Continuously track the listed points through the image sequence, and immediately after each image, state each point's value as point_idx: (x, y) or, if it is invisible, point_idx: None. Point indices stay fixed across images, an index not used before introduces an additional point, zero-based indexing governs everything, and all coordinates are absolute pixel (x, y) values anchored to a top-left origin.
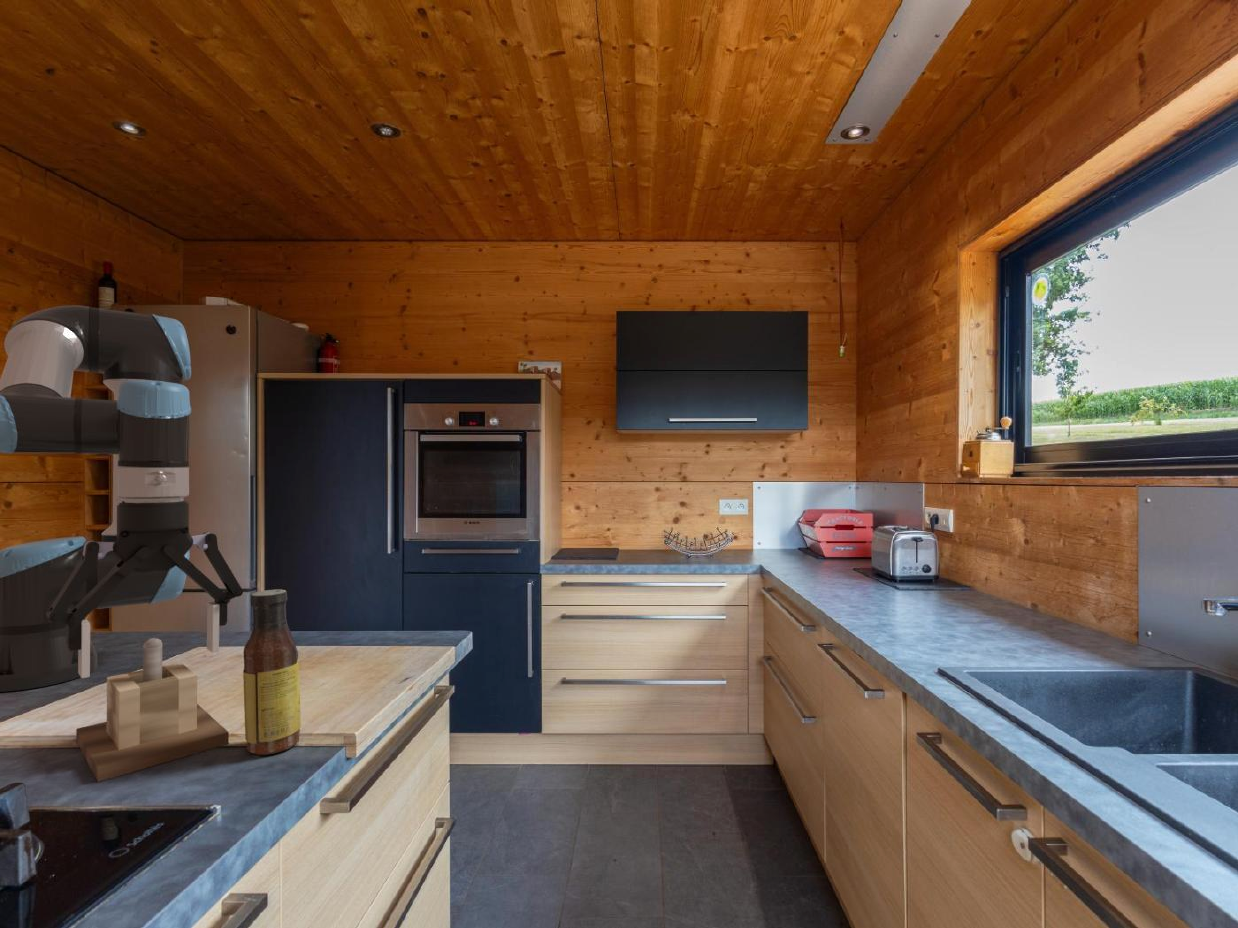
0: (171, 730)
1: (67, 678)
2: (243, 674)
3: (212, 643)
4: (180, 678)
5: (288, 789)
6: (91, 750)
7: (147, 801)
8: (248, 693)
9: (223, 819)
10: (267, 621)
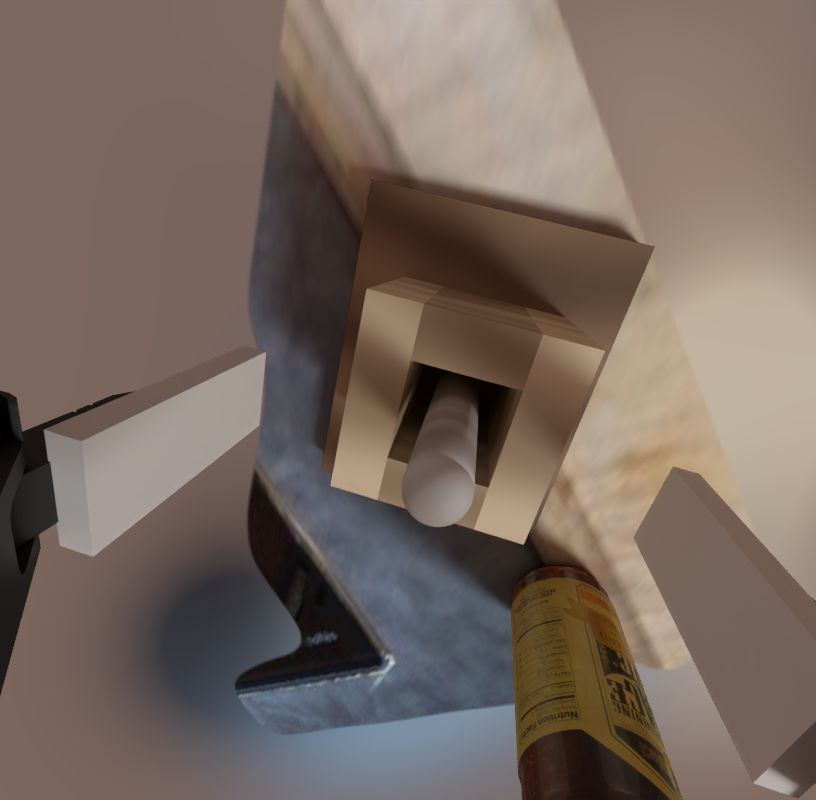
0: None
1: None
2: (526, 738)
3: (650, 561)
4: (481, 525)
5: (464, 704)
6: (342, 373)
7: (347, 577)
8: (515, 711)
9: (378, 686)
10: None
